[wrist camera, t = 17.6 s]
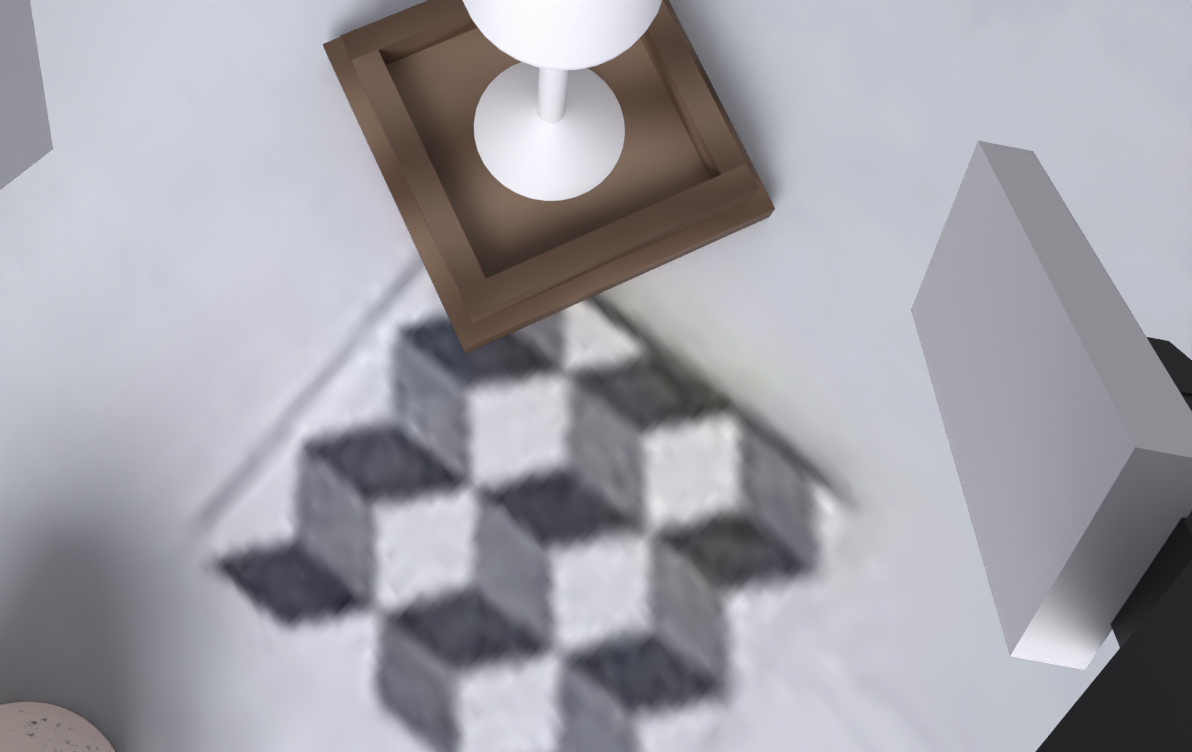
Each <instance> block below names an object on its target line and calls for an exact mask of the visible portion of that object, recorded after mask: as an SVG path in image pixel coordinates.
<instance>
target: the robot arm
mask: <svg viewBox="0 0 1192 752" xmlns="http://www.w3.org/2000/svg"><path fill="white" fill-rule="evenodd" d="M52 149H53V146H52V140H51V134H50V127H49V121H48V114H47V108H46V101H45V95H44V89H43V82H42V76H41V69H40V63H39V56H38V50H37V43H36V37H35V31H34V24H33V18H32V11H31V5H30V0H0V190H1V189H2V188H3V187H5V186H6V185H7V184H8V183H10V182H11V181H12V180H14V179H15V178H16V177H17V176H19V175H20V174H21V173H23V172H24V171H25V170H27V169H28V168H29V167H30V166H32V165H33V164H34V163H36V162H37V161H38V160H39V159H41V158H42V157H43V156H45V155H46V154H47V153H49V152H50V151H51V150H52ZM911 311H912V314H913V318H914V321H915V325H916V328H917V332H918V335H919V339H920V342H921V346H922V349H923V353H924V356H925V360H926V363H927V367H928V370H929V374H930V377H931V381H932V384H933V388H934V391H935V395H936V398H937V402H938V405H939V409H940V412H941V416H942V419H943V423H944V426H945V430H946V433H947V437H948V440H949V444H950V447H951V451H952V454H953V458H954V461H955V465H956V469H957V472H958V476H959V479H960V483H961V486H962V490H963V493H964V497H965V500H966V504H967V507H968V511H969V514H970V518H971V521H972V525H973V528H974V532H975V535H976V539H977V542H978V546H979V549H980V553H981V556H982V560H983V563H984V567H985V570H986V574H987V577H988V581H989V584H990V588H991V591H992V595H993V598H994V602H995V605H996V609H997V612H998V616H999V619H1000V623H1001V626H1002V630H1003V633H1004V637H1005V640H1006V644H1007V647H1008V651H1009V654H1010V656H1011V657H1017V658H1022V659H1027V660H1033V661H1038V662H1044V663H1049V664H1055V665H1060V666H1066V667H1071V668H1077V669H1082V670H1085V669H1086V667H1087V666H1088V664H1089V663H1090V662H1091V660H1092V659H1093V657H1094V656H1095V654H1096V653H1097V651H1098V650H1099V648H1100V647H1101V645H1102V644H1103V642H1104V641H1105V639H1106V638H1107V636H1108V635H1109V633H1110V632H1111V630H1112V629H1113V631H1114V634H1115V636H1116V639H1117V641H1118V644H1119V646H1120V649H1119V650H1118V651H1117V653H1116V654H1115V655H1114V656H1113V658H1112V659H1111V660H1110V661H1109V662H1108V664H1107V665H1106V666H1105V667H1104V669H1103V670H1102V671H1101V672H1100V673H1099V675H1098V676H1097V677H1096V678H1095V680H1094V681H1093V682H1092V683H1091V685H1090V686H1089V687H1088V688H1087V689H1086V691H1085V692H1084V693H1083V694H1082V696H1081V697H1080V698H1079V699H1078V700H1077V702H1076V703H1075V704H1074V705H1073V707H1072V708H1071V709H1070V710H1069V711H1068V713H1067V714H1066V715H1065V716H1064V718H1063V719H1062V720H1061V721H1060V723H1059V724H1058V725H1057V726H1056V727H1055V729H1054V730H1053V731H1052V732H1051V734H1050V735H1049V736H1048V737H1047V738H1046V740H1045V741H1044V742H1043V743H1042V745H1041V746H1040V747H1039V748H1038V749H1037V751H1036V752H1192V360H1191V359H1189V358H1188V357H1187V356H1186V355H1185V354H1184V353H1182V352H1181V351H1180V350H1179V349H1178V348H1176V347H1175V346H1174V345H1173V344H1172V343H1170V342H1169V341H1165V340H1160V339H1155V338H1149V337H1146V336H1145V334H1144V333H1143V331H1142V329H1141V328H1140V326H1139V324H1138V323H1137V321H1136V319H1135V318H1134V316H1133V314H1132V313H1131V311H1130V310H1129V308H1128V306H1127V305H1126V303H1125V301H1124V300H1123V298H1122V296H1121V295H1120V293H1119V291H1118V290H1117V288H1116V287H1115V285H1114V283H1113V282H1112V280H1111V278H1110V277H1109V275H1108V273H1107V272H1106V270H1105V268H1104V267H1103V265H1102V264H1101V262H1100V260H1099V259H1098V257H1097V255H1096V254H1095V252H1094V250H1093V249H1092V247H1091V245H1090V244H1089V242H1088V241H1087V239H1086V237H1085V236H1084V234H1083V232H1082V231H1081V229H1080V227H1079V226H1078V224H1077V222H1076V221H1075V219H1074V218H1073V216H1072V214H1071V213H1070V211H1069V209H1068V208H1067V206H1066V204H1065V203H1064V201H1063V199H1062V198H1061V196H1060V195H1059V193H1058V191H1057V190H1056V188H1055V186H1054V185H1053V183H1052V181H1051V180H1050V178H1049V176H1048V175H1047V173H1046V172H1045V170H1044V168H1043V167H1042V165H1041V163H1040V162H1039V160H1038V158H1037V157H1036V155H1035V154H1034V152H1033V151H1029V150H1024V149H1019V148H1013V147H1008V146H1003V145H997V144H992V143H987V142H982V141H978V143H977V145H976V148H975V150H974V153H973V155H972V158H971V160H970V163H969V165H968V168H967V170H966V173H965V175H964V178H963V180H962V183H961V185H960V188H959V191H958V193H957V196H956V198H955V201H954V203H953V206H952V208H951V211H950V213H949V216H948V218H947V221H946V223H945V226H944V228H943V231H942V233H941V236H940V239H939V241H938V244H937V246H936V249H935V251H934V254H933V256H932V259H931V261H930V264H929V266H928V269H927V271H926V274H925V276H924V279H923V281H922V284H921V286H920V289H919V292H918V294H917V297H916V299H915V302H914V304H913V307H912V309H911Z"/></svg>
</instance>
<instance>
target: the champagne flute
mask: <svg viewBox="0 0 1192 752" xmlns="http://www.w3.org/2000/svg"><path fill="white" fill-rule="evenodd" d="M463 2H464V4H465V6H466V8H467V10H468V12H469V15H470V16H471V18H472V20H473V22H474V23H475V24H476V25H477V27H478V28H479V29H480V31H481V32H482V33H483V35H484V36H485V37H486V38H487V39H488V40H489V41H491V42H492V43H493V44H494V45H495V46H496V47H497V48H499V49H500V50H501V51H503V52H505V53H506V54H508V55H510V56H511V57H513V58H515V59H516V60H519V61H521V62H520V63H518V64H515V65H513V66H511V67H509V68H508V69H506V70H505V71H503V72H502V73H500V74H499V75H498V76H497V77H496V78H495V79H494V80H493V81H492V82H491V83H490V84H489V85H488V87H487V88H486V90H485V91H484V93H483V94H482V96H481V98H480V101H479V103H478V106H477V108H476V113H475V119H474V138H475V142H476V146H477V150H478V153H479V155H480V157H481V159H482V161H483V163H484V165H485V166H486V167H487V169H488V170H489V171H490V173H491V174H492V175H493V176H494V177H495V178H496V179H497V180H498V181H499V182H500V183H501V184H503V185H504V186H505V187H507V188H509V189H510V190H512V191H514V192H515V193H517V194H520V195H523V196H525V197H528V198H531V199H537V200H543V201H559V200H565V199H570V198H574V197H577V196H579V195H582V194H584V193H586V192H588V191H590V190H591V189H593V188H594V187H596V186H597V185H599V184H600V183H601V182H602V181H603V180H604V179H605V178H606V177H607V176H608V175H609V174H610V173H611V171H612V170H613V168H614V166H615V165H616V163H617V162H618V160H619V157H620V154H621V151H622V149H623V143H624V137H625V127H624V118H623V114H622V110H621V106H620V104H619V102H618V100H617V98H616V96H615V94H614V93H613V91H612V90H611V89H610V87H609V86H608V85H607V84H606V82H605V81H604V80H602V79H601V78H600V77H599V76H598V75H597V74H596V73H594V72H593V71H591V70H589V69H588V67H593V66H597V65H599V64H602V63H604V62H607V61H609V60H611V59H614V58H615V57H617V56H618V55H620V54H621V53H623V52H624V51H626V50H627V49H629V48H630V47H631V46H632V45H633V44H634V43H635V42H636V41H637V40H638V39H639V38H640V37H641V36H642V35H643V34H644V33H645V32H646V30H647V29H648V27H649V26H650V24H651V23H652V21H653V19H654V18H655V16H656V15H657V13H658V10H659V8H660V5H661V2H662V0H463Z"/></svg>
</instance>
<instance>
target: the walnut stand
mask: <svg viewBox="0 0 1192 752" xmlns="http://www.w3.org/2000/svg"><path fill="white" fill-rule="evenodd" d="M323 46H324V49H325V51H326V53H327V56H328V58H329V60H330V62H331V65H332V67H333V69H334V71H335V73H336V75H337V78H338V80H339V82H340V84H341V86H342V88H343V91H344V93H345V95H346V97H347V99H348V101H349V103H350V106H351V108H352V110H353V112H354V114H355V116H356V119H357V121H358V123H359V125H360V127H361V129H362V132H363V134H364V136H365V138H366V140H367V142H368V144H369V147H370V149H371V151H372V153H373V155H374V157H375V160H376V162H377V164H378V166H379V168H380V170H381V173H382V175H383V177H384V179H385V181H386V183H387V185H388V188H389V190H390V192H391V194H392V196H393V198H394V201H395V203H396V205H397V207H398V209H399V211H400V214H401V216H402V218H403V220H404V222H405V224H406V226H407V229H408V231H409V233H410V235H411V237H412V239H413V242H414V244H415V246H416V248H417V250H418V252H419V255H420V257H421V259H422V261H423V263H424V265H425V267H426V270H427V272H428V274H429V276H430V278H431V280H432V283H433V285H434V287H435V289H436V291H437V293H438V296H439V298H440V300H441V302H442V304H443V306H444V308H445V311H446V313H447V315H448V317H449V319H450V321H451V324H452V326H453V328H454V330H455V332H456V334H457V337H458V339H459V341H460V343H461V345H462V347H463V349H464V352H465V354H466V353H468V352H470V351H472V350H474V349H477V348H479V347H481V346H483V345H486V344H488V343H490V342H492V341H494V340H497V339H499V338H501V337H503V336H506V335H508V334H510V333H512V332H514V331H517V330H519V329H521V328H523V327H526V326H528V325H530V324H532V323H534V322H537V321H539V320H541V319H543V318H546V317H548V316H550V315H552V314H554V313H557V312H559V311H561V310H563V309H566V308H568V307H570V306H572V305H574V304H577V303H579V302H581V301H583V300H586V299H588V298H590V297H592V296H594V295H597V294H599V293H601V292H603V291H606V290H608V289H610V288H612V287H615V286H617V285H619V284H621V283H623V282H626V281H628V280H630V279H632V278H635V277H637V276H639V275H641V274H643V273H646V272H648V271H650V270H652V269H655V268H657V267H659V266H661V265H663V264H666V263H668V262H670V261H672V260H675V259H677V258H679V257H681V256H683V255H686V254H688V253H690V252H692V251H695V250H697V249H699V248H701V247H703V246H706V245H708V244H710V243H712V242H715V241H717V240H719V239H721V238H723V237H726V236H728V235H730V234H732V233H735V232H737V231H739V230H741V229H743V228H746V227H748V226H750V225H752V224H755V223H757V222H759V221H761V220H763V219H766V218H768V217H769V216H770V215H771V213H772V212H773V211H774V209H775V208H774V206H773V204H772V202H771V200H770V198H769V196H768V194H767V192H766V190H765V188H764V186H763V184H762V182H761V180H760V179H759V177H758V175H757V173H756V171H755V169H754V167H753V165H752V163H751V161H750V159H749V157H748V155H747V153H746V151H745V149H744V147H743V145H742V143H741V141H740V139H739V137H738V135H737V133H736V131H735V129H734V127H733V126H732V124H731V122H730V120H729V118H728V116H727V114H726V112H725V110H724V108H723V106H722V104H721V102H720V100H719V98H718V96H717V94H716V92H715V90H714V88H713V86H712V84H711V82H710V80H709V78H708V76H707V74H706V73H705V71H704V69H703V67H702V65H701V63H700V61H699V59H698V57H697V55H696V53H695V51H694V49H693V47H692V45H691V43H690V41H689V39H688V37H687V35H686V33H685V31H684V29H683V27H682V25H681V23H680V21H679V20H678V18H677V16H676V14H675V12H674V10H673V8H672V6H671V4H670V2H669V0H662V2H661V5H660V8H659V10H658V13H657V15H656V16H655V18H654V19H653V21H652V23H651V24H650V26H649V27H648V29H647V30H646V32H645V33H644V34H643V35H642V36H641V37H640V38H639V39H638V40H637V41H636V42H635V43H634V44H633V45H632V46H631V47H630V48H629V49H627V50H626V51H624V52H623V53H621V54H620V55H618V56H617V57H615V58H614V59H611V60H609V61H607V62H604V63H602V64H599V65H597V66H593V67H588V69H589V70H591V71H593V72H594V73H596V74H597V75H598V76H599V77H600V78H601V79H602V80H604V81H605V82H606V84H607V85H608V86H609V87H610V89H611V90H612V91H613V93H614V94H615V96H616V98H617V100H618V102H619V104H620V106H621V110H622V114H623V118H624V127H625V137H624V143H623V149H622V151H621V154H620V157H619V160H618V162H617V163H616V165H615V166H614V168H613V170H612V171H611V173H610V174H609V175H608V176H607V177H606V178H605V179H604V180H603V181H602V182H601V183H600V184H599V185H597V186H596V187H594V188H593V189H591V190H590V191H588V192H586V193H584V194H582V195H579V196H577V197H574V198H570V199H565V200H559V201H543V200H537V199H531V198H528V197H525V196H523V195H520V194H517V193H515V192H514V191H512V190H510V189H509V188H507V187H505V186H504V185H503V184H501V183H500V182H499V181H498V180H497V179H496V178H495V177H494V176H493V175H492V174H491V173H490V171H489V170H488V169H487V167H486V166H485V165H484V163H483V161H482V159H481V157H480V155H479V153H478V150H477V146H476V142H475V138H474V119H475V113H476V108H477V106H478V103H479V101H480V98H481V96H482V94H483V93H484V91H485V90H486V88H487V87H488V85H489V84H490V83H491V82H492V81H493V80H494V79H495V78H496V77H497V76H498V75H499V74H500V73H502V72H503V71H505V70H506V69H508V68H509V67H511V66H513V65H515V64H518V63H520V62H521V61H519V60H516V59H515V58H513V57H511V56H510V55H508V54H506V53H505V52H503V51H501V50H500V49H499V48H497V47H496V46H495V45H494V44H493V43H492V42H491V41H489V40H488V39H487V38H486V37H485V36H484V35H483V33H482V32H481V31H480V29H479V28H478V27H477V25H476V24H475V23H474V22H473V20H472V18H471V16H470V15H469V12H468V10H467V8H466V6H465V4H464V2H463V0H428V1H426V2H423V3H421V4H418V5H416V6H413V7H411V8H408V9H406V10H403V11H401V12H399V13H396V14H394V15H391V16H389V17H386V18H384V19H381V20H379V21H376V22H374V23H371V24H369V25H366V26H364V27H361V28H359V29H356V30H354V31H351V32H349V33H346V34H344V35H341V37H339V38H337V39H334V40H332V41H330V42H327V43H325V44H323Z"/></svg>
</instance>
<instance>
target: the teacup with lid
mask: <svg viewBox="0 0 1192 752" xmlns="http://www.w3.org/2000/svg"><path fill="white" fill-rule="evenodd" d="M0 752H115V751H114V749H113V748H112V746H111V744H110V743H109V742H108V740H107V739H106V738H105V737H104V735H103V734H102V733H101V732H100V731H99V730H98V729H97V728H96V727H95V726H93V725H92V724H91V723H90V722H88V721H87V720H86V719H84V718H83V717H81V716H79V715H78V714H76V713H74V712H72V711H70V710H67V709H65V708H62V707H59V706H56V705H52V704H47V703H41V702H12V703H5V704H1V705H0Z"/></svg>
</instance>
